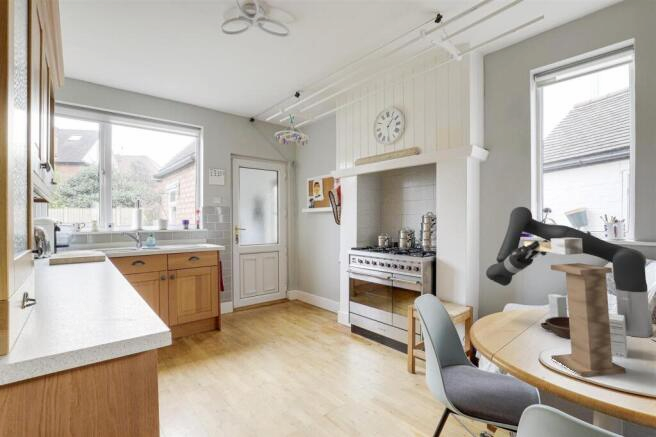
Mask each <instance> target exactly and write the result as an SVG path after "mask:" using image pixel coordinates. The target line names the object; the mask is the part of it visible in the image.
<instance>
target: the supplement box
mask: <svg viewBox="0 0 656 437" xmlns="http://www.w3.org/2000/svg"><path fill="white" fill-rule="evenodd" d="M609 324H610V338H611V352H612V357H613V356H615V357H619V358H624V359H627V357H628V338H627V335H626V326H625V316H624V315H618V313H609Z"/></svg>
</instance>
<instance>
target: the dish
mask: <svg viewBox="0 0 656 437" xmlns="http://www.w3.org/2000/svg"><path fill="white" fill-rule="evenodd" d="M540 327H541V329H543V330H547V331H550V332H552V333H553V334H554V335H557V336H559V337H562V338H566V339H570V325H569V316H567V317H552V318H550V317H549V318H546V319H545V320H544V322H541V323H540Z"/></svg>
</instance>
